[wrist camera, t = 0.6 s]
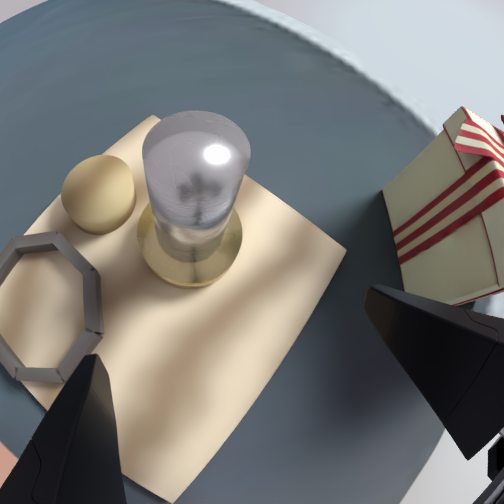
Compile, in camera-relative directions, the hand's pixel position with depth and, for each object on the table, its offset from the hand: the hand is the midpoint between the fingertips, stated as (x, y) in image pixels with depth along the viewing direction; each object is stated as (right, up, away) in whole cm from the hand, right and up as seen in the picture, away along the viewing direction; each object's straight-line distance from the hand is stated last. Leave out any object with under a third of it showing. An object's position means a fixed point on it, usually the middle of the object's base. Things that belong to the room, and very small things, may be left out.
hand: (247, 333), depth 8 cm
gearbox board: (-8, 0, +12) cm, 15 cm away
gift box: (+21, +2, +21) cm, 29 cm away
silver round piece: (-5, +3, +14) cm, 15 cm away
